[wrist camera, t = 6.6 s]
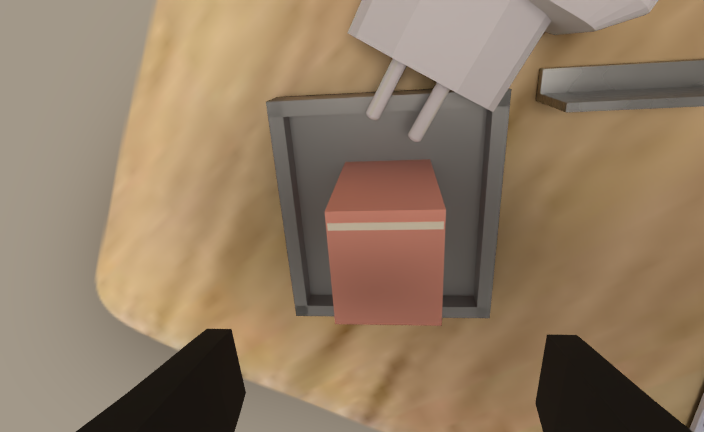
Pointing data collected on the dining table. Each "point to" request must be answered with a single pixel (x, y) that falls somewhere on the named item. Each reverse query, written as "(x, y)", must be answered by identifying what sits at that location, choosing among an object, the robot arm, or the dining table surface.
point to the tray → (387, 145)
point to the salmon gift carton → (386, 243)
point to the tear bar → (623, 86)
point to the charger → (472, 42)
